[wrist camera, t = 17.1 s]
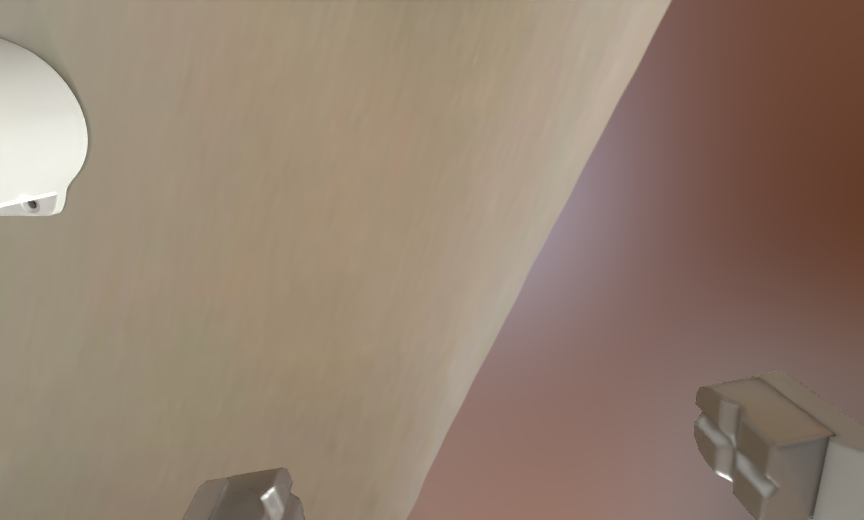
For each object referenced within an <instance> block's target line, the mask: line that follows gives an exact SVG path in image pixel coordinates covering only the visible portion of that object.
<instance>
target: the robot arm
mask: <svg viewBox="0 0 864 520" xmlns="http://www.w3.org/2000/svg"><path fill="white" fill-rule="evenodd" d="M87 146H88V135H87V128H86V123H85V119H84V116H83V113H82V110H81V108H80V105H79V103H78V101H77V99H76V98H75V96H74V94H73V93H72V91H71V89H70V88H69V87H68V85H67V84H66V83H65V81H64V80H63V79H62V78H61V77H60V76H59V74H58V73H57V72H56V71H55V70H54V69H53V68H51V67H50V66H49V65H48V64H47V63H46V62H44V61H43V60H42V59H41V58H39V57H38V56H36V55H35V54H33V53H32V52H30V51H28V50H26V49H25V48H23V47H21V46H19V45H16V44H14V43H12V42H9V41H7V40H4V39H2V38H0V216H48V215H55V214H58V213H60V212H61V211H62V209H63V207H64V204H65V198H66V191H67V187H68V185H69V184H70V182H71V181H72V180H73V179H74V177H75V176H76V175H77V174H78V172H79V171H80V169H81V167H82V165H83V163H84V160H85V157H86V153H87ZM33 201H35V202H36V204H37V206H35V205H34V203H33ZM696 405H697V406H698V407H699V408H700V409H701V410H702V413H701V414H700V415H699V417H698V418H697V419H696V421H695V422H694V436H695V439H696V442H697V445H698V448H699V451H700V452H701V454H702V456H703V458H704V459H705V461H706V462H707V463H708V465H709V466H710V467H711V468H712V470H713V471H714V472H715V473H717V474H719V475H721V476H723V477H724V478H726V479H729V480H730V481H732V487H733V494H734V495H735V496H736V498H737V499H738V500H739V501H740V502H741V503H742V505H743V506H744V507H745V508H746V509H747V510H748V511H749V513H750V514H751V515H752V516H753V517H754V518H755V519H756V520H810V519H813V520H864V426H863V425H862V424H860V423H859V422H857V421H856V420H854V419H853V418H852V417H850V416H848V415H847V414H846V413H844V412H843V411H841V410H840V409H838V408H837V407H835V406H834V405H833V404H831V403H829V402H828V401H827V400H825V399H824V398H822V397H821V396H820V395H818V394H816V393H815V392H814V391H812V390H811V389H809V388H808V387H806V386H805V385H803V384H802V383H801V382H799V381H798V380H796V379H795V378H793V377H792V376H790V375H789V374H787V373H784V372H780V371H775V372H770V373H765V374H760V375H755V376H752V377H747V378H742V379H737V380H732V381H727V382H722V383H717V384H712V385H707V386H702V387H700V388H699V390H698V391H697V393H696ZM292 483H293V480H292V478H291V476H290V474H289V472H288V469H286V468H277V469H271V470H265V471H259V472H252V473H246V474H240V475H234V476H232V477H227V478H220V479H214V480H208V481H206V482H205V483H204V484H202V485H201V486H200V487H199V489H198V490H197V492H196V494H195V496H194V498H193V500H192V502H191V504H190V505H189V507H188V509H187V511H186V513H185V515H184V517H183V519H182V520H305V516H304V510H303V506H302V503H301V501H300V498H298V497H297V496H295V495H294V494H292V493H291V492H290V490H291V486H292Z"/></svg>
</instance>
